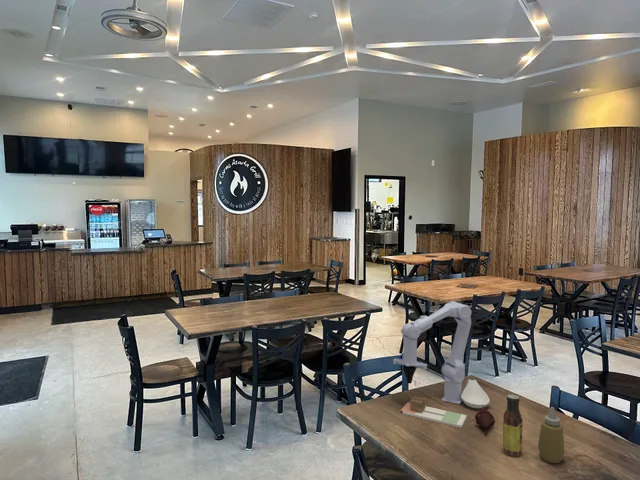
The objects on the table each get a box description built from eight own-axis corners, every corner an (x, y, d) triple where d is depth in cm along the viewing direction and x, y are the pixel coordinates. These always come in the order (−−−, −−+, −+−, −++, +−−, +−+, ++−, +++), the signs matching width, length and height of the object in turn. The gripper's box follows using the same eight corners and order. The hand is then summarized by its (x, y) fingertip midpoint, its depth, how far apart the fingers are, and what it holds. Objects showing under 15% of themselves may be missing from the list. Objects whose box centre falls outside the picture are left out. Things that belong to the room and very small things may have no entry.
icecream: (499, 421, 161) (494, 407, 175) (479, 413, 163) (476, 401, 177) (494, 439, 161) (489, 423, 176) (473, 431, 163) (471, 417, 178)
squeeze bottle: (540, 449, 153) (542, 400, 152) (566, 458, 148) (568, 406, 147) (535, 459, 147) (536, 408, 146) (561, 468, 142) (563, 415, 141)
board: (407, 404, 190) (407, 401, 190) (466, 417, 177) (466, 414, 177) (400, 413, 181) (400, 410, 181) (461, 428, 169) (461, 425, 169)
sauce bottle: (524, 458, 148) (525, 401, 147) (504, 456, 149) (506, 400, 148) (519, 448, 154) (520, 393, 153) (500, 446, 155) (502, 392, 154)
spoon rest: (491, 413, 182) (492, 396, 182) (462, 410, 184) (462, 394, 184) (482, 391, 205) (483, 376, 205) (457, 388, 208) (457, 374, 207)
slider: (413, 405, 186) (414, 396, 185) (425, 407, 183) (425, 398, 183) (410, 409, 181) (410, 400, 181) (421, 412, 179) (422, 403, 179)
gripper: (390, 351, 187) (390, 382, 188) (423, 357, 180) (423, 389, 181) (396, 347, 193) (396, 377, 194) (428, 352, 186) (428, 383, 187)
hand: (409, 382), depth 188 cm, fingers closed
